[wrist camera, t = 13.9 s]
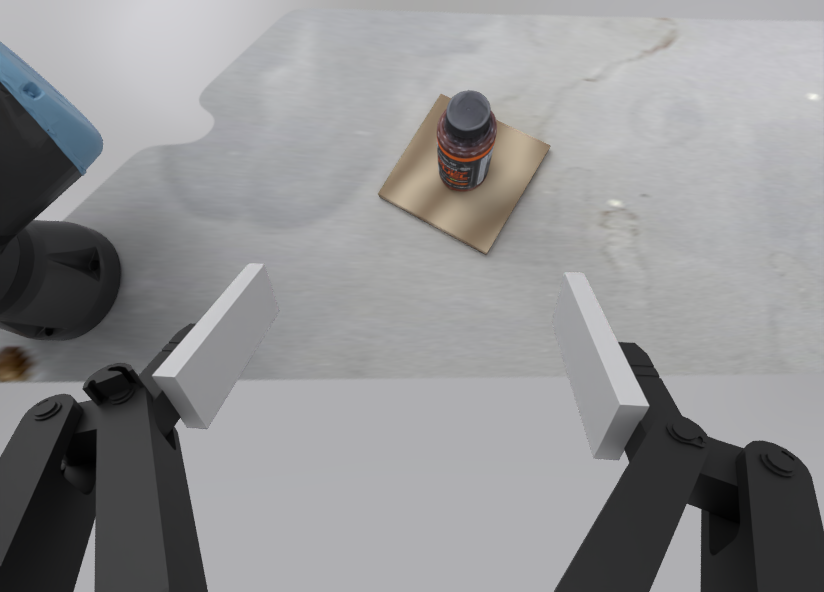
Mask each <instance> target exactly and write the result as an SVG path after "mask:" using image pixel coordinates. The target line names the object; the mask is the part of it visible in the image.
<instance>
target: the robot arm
mask: <svg viewBox="0 0 824 592" xmlns="http://www.w3.org/2000/svg"><path fill="white" fill-rule="evenodd" d="M102 149H103V140H102V137H101V135H100V133H99V132H98V131H97V129H96V128H95V127H94V126H93V125H92V123H91V122H90V121H89V120H88V119H87V118H86V117H85V116H84V115H83V114H82V113H81V112H80V111H79V110H78V109H77V108H76V107H75V106H74V105H72V104H71V103H70V102H69V101H68V100H67V99H66V98H65V97H64V96H63V95H62V94H60V92H59V91H57V90H56V89H55V88H54V87H53V86H52V85H51V84H50V83H49V82H47V81H46V80H45V79H44V78H43V77H42V76H41V75H40V74H38V73H37V72H36V71H35V70H34V69H33V68H32V67H30V66H29V65H28V64H27V63H26V62H25V61H23V60H22V59H21V58H20V57H19V56H17V55H16V54H15V53H14V52H13V51H11V50H10V49H9V48H8V47H6V46H5V45H4V44H3V43H2V42H0V328H1V329H4V330H6V331H9V332H12V333H15V334H18V335H21V336H24V337H27V338H31V339H37V340H67V339H72V338H75V337H78V336H80V335H82V334H84V333H86V332H88V331H89V330H91V329H92V328H93V327H94V326H96V325H97V324H98V323H99V322H100V321H101V320H102V319H103V318H104V316H105V315H106V314H107V312H108V311H109V309H110V308H111V306H112V304H113V302H114V300H115V297H116V295H117V292H118V288H119V283H120V265H119V260H118V256H117V254H116V251H115V249H114V248H113V246H112V244H111V243H110V242H109V241H108V240H107V238H105V237H104V236H103V235H102V234H100V233H99V232H97V231H95V230H92V229H90V228H87V227H84V226H81V225H78V224H74V223H69V222H62V221H38V220H34V219H35V218H36V217H37V216H38V215H39V214H40V213H41V212H43V211H44V210H45V209H46V208H47V207H48V206H49V205H50V204H51V203H52V202H54V201H55V200H56V199H57V198H58V197H59V196H60V195H61V194H62V193H63V192H64V191H66V189H68V188H69V187H70V186H71V185H72V184H73V183H74V182H76V181H77V180H78V179H79V178H80V177H81V176H83V175H84V174H85V173H86V169H87V168H88V167H89V166H90V165H91V164H92V163H93V162H94V161H95V159H96V158H97V157H98V156H99V155H100V154H101V152H102ZM279 311H280V310H279V307H278V304H277V301H276V298H275V295H274V292H273V289H272V285H271V282H270V279H269V276H268V273H267V270H266V267H265V264H252V263H248V265H247V266H246V267H245V268H244V269H243V270H242V272H241V273H240V274H239V275H238V276H237V277H236V279H235V280H234V281H233V282H232V283H231V284H230V286H229V287H228V288H227V289H226V290H225V291H224V293H223V294H222V295H221V296H220V297H219V298H218V299H217V301H216V302H215V303H214V304H213V305H212V306H211V308H210V309H209V310H208V311H207V312H206V313H205V315H204V316H203V317H202V318H201V319H200V320H199V322H198V323H197V324H189V325H188V326H186V327H185V328H183V329H182V330H180V331H179V332H178V333H177V334H176V335H175V336H174V337H173V338H172V339H171V340H170V341H169V344H167V345H166V346H165V347H164V348H163V349H162V352H160V353H159V354H158V355H157V356H156V357H155V358H154V359H153V360H152V362H151V363H150V364H149V365H148V366H147V367H146V368H145V369H144V370H143V372H142V373H141V374H140V375H139V376H138V375H137V374H136V372H135V371H134V370H133V368H132V367H131V365H128V364H126V363H118V364H114V365H110V366H107V367H105V368H103V369H101V370H99V371H97V372H96V373H94V374H93V375H92V376H90V377H89V378H88V380H87V381H86V382H85V383H84V386H83V390H84V391H85V392H86V394H87V395H88V396H89V397H90V398H91V399H92V400H91V401H86V402H80V403H77V402H76V400H75V399H74V398H73V397H72V396H71V395H68V394H59V395H55V396H52V397H49V398H46V399H44V400H42V401H40V402H39V403H37V404H36V405H34V406H33V407H32V408H31V409H29V410H28V411H27V413H26V414H25V415H24V417H23V418H22V419H21V421H20V423H19V425H18V427H17V428H16V430H15V432H14V434H13V435H12V437H11V439H10V441H9V442H8V444H7V446H6V448H5V450H4V452H3V453H2V455H1V457H0V592H73V591H74V588H75V584H76V581H77V577H78V574H79V571H80V567H81V564H82V560H83V557H84V554H85V550H86V547H87V544H88V540H89V537H90V534H91V530H92V527H93V523H94V520H95V517H96V529H95V530H96V531H95V534H96V535H95V537H96V538H95V592H208V590H207V585H206V579H205V575H204V569H203V564H202V558H201V553H200V548H199V542H198V537H197V532H196V526H195V521H194V516H193V510H192V505H191V500H190V495H189V489H188V484H187V479H186V473H185V468H184V463H183V459H182V452H181V447H180V442H179V437H178V432H177V430H176V428H175V427H174V426H175V424H176V423H177V422H178V420H179V419H180V418H181V419H182V421H183V422H184V424H185V425H186V427H187V428H199V429H208V427H209V425H210V424H211V422H212V420H213V419H214V417H215V416H216V414H217V412H218V411H219V409H220V407H221V406H222V404H223V403H224V401H225V399H226V398H227V396H228V394H229V393H230V391H231V390H232V388H233V386H234V385H235V383H236V381H237V380H238V378H239V376H240V375H241V373H242V372H243V370H244V368H245V367H246V365H247V363H248V362H249V360H250V359H251V357H252V355H253V354H254V352H255V350H256V349H257V347H258V346H259V344H260V342H261V341H262V339H263V337H264V336H265V334H266V333H267V331H268V329H269V328H270V326H271V324H272V323H273V321H274V319H275V318H276V316H277V315H278V313H279ZM552 325H553V328H554V332H555V335H556V338H557V341H558V345H559V348H560V351H561V354H562V358H563V361H564V364H565V367H566V371H567V374H568V377H569V380H570V384H571V387H572V390H573V393H574V397H575V400H576V403H577V406H578V410H579V413H580V416H581V419H582V423H583V426H584V429H585V432H586V436H587V439H588V442H589V445H590V449H591V452H592V455H593V458H595V459H609V460H619V459H620V457H621V455H622V453H623V452H624V450H625V452H626V455H627V457H628V460H629V465H628V466H627V468H626V469H625V471H624V473H623V474H622V476H621V478H620V480H619V482H618V483H617V485H616V487H615V488H614V490H613V492H612V493H611V495H610V497H609V498H608V500H607V502H606V504H605V505H604V507H603V509H602V510H601V512H600V514H599V515H598V517H597V519H596V521H595V522H594V524H593V526H592V528H591V529H590V531H589V533H588V534H587V536H586V538H585V539H584V541H583V543H582V544H581V546H580V548H579V550H578V551H577V553H576V555H575V556H574V558H573V560H572V562H571V563H570V565H569V567H568V568H567V570H566V572H565V573H564V575H563V577H562V579H561V580H560V582H559V584H558V585H557V587H556V589H555V590H554V592H649V591H650V589H651V586H652V584H653V582H654V579H655V577H656V575H657V572H658V570H659V568H660V565H661V563H662V560H663V558H664V556H665V553H666V551H667V549H668V546H669V544H670V542H671V539H672V537H673V535H674V532H675V530H676V528H677V525H678V523H679V520H680V518H681V516H682V513H683V511H684V509H685V506H686V504H689V505H692V506H695V507H698V508H700V509H702V511H701V513H702V514H701V592H824V530H823V526H822V521H821V516H820V512H819V507H818V503H817V499H816V494H815V490H814V485H813V481H812V477H811V475H810V473H809V471H808V469H807V467H806V466H805V465H804V464H803V463H802V461H801V460H800V459H799V458H798V457H796V456H795V455H793V454H792V453H791V452H789V451H788V450H787V449H784V448H782V447H780V446H778V445H776V444H774V443H770V442H766V441H752V442H751V443H749V444H748V445H746V447H745V448H741V447H738V446H735V445H731V444H728V443H725V442H722V441H719V440H716V439H713V438H710V437H708V436H707V434H706V433H705V432H704V431H703V429H702V428H701V427H700V426H699V425H697V424H696V423H694V422H693V421H691V420H690V419H688V418H685V417H683V416H682V415H681V413H680V412H679V410H678V408H677V406H676V405H675V403H674V401H673V399H672V397H671V395H670V394H669V392H668V390H667V388H666V387H665V385H664V383H663V381H662V380H661V378H659V374H658V372H657V371H656V369H655V368H654V365H653V364H652V362H651V360H650V358H649V356H648V355H647V353H646V352H644V351H643V350H642V349H641V348H640V347H639V346H638V345H637V344H635V343H624V342H618V341H617V339H616V337H615V335H614V333H613V331H612V329H611V327H610V325H609V323H608V321H607V319H606V317H605V315H604V313H603V311H602V309H601V307H600V305H599V303H598V301H597V299H596V297H595V295H594V293H593V291H592V289H591V287H590V285H589V283H588V281H587V278H586V276H585V274H584V273H579V272H564V276H563V280H562V284H561V288H560V292H559V295H558V299H557V303H556V307H555V311H554V315H553V319H552Z"/></svg>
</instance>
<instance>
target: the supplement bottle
mask: <svg viewBox="0 0 824 592" xmlns="http://www.w3.org/2000/svg"><path fill="white" fill-rule="evenodd" d="M496 134H497V122H496V118H495V116H494V114H493V112H492V111H491V108H490V104H489V101H488V100H487V98H486V97H485V96H484V95H482V94H481V93H479V92H477V91H470V90H468V91H463V92H460V93H458V94H456V95H455V96H454V97H453V98H452V99H451V100H450V101H449V103H448V105H447V109H446V110H445V111H444V112H443V113H442V115H441V116H440V118H439V121H438V124H437V153H438V170H439V175H440V178H441V180H442V181H443V183H444V184H445V185H446V186H447V187H449V188H451V189H452V190H455V191H461V192H465V191H471V190H473V189H475V188H477V187H478V186H480V185H481V184H482V183H483V181H484V180H485V178H486V176H487V173H488V170H489V166H490V161H491V157H492V152H493V148H494V144H495V139H496Z"/></svg>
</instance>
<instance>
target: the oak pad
mask: <svg viewBox="0 0 824 592" xmlns="http://www.w3.org/2000/svg"><path fill="white" fill-rule="evenodd" d="M450 100H451V98H449V97H447V96H445V95H442V94H440V96H439V98H438V99H437V101H436V102H435V104H434V106H433V107H432V109H431V110H430V112H429V113H428V115H427V117H426V118H425V120H424V121H423V123H422V125H421V126H420V128H419V129H418V131H417V132H416V134H415V136H414V137H413V139H412V140H411V142H410V144H409V145H408V147H407V148H406V150H405V152H404V153H403V155H402V156H401V158H400V159H399V161H398V163H397V164H396V166H395V167H394V169H393V171H392V172H391V174H390V175H389V177H388V178H387V180H386V182H385V183H384V185H383V186H382V188H381V190H380V191H379V193H378V195H379V197H381V198H383V199H385V200H387V201H388V202H390V203H392V204H394V205H396V206H398V207H399V208H401V209H403V210H405V211H407V212H409V213H410V214H412V215H414V216H416V217H418V218H420V219H421V220H423V221H425V222H427V223H429V224H431V225H432V226H434V227H436V228H438V229H440V230H442V231H443V232H445V233H447V234H449V235H451V236H453V237H454V238H456V239H458V240H460V241H462V242H464V243H465V244H467V245H469V246H471V247H473V248H475V249H477V250H478V251H480V252H482V253H484V254H487V253H488V251H489V249H490V247H491V246H492V244H493V242H494V241H495V239H496V237H497V236H498V234H499V232H500V231H501V229H502V227H503V226H504V224H505V222H506V221H507V219H508V217H509V216H510V214H511V212H512V210H513V209H514V207H515V205H516V204H517V202H518V200H519V199H520V197H521V195H522V194H523V192H524V190H525V189H526V187H527V185H528V184H529V182H530V180H531V179H532V177H533V175H534V173H535V172H536V170H537V168H538V167H539V165H540V163H541V162H542V160H543V158H544V157H545V155H546V153H547V152H548V150H549V148H550V145H548V144H546V143H544V142H542V141H540V140H537V139H535V138H533V137H531V136H529V135H527V134H525V133H523V132H521V131H518V130H516V129H514V128H512V127H510V126H508V125H506V124H504V123H502V122H499V121H497V120H496V122H497V134H496V139H495V144H494V148H493V152H492V157H491V161H490V166H489V170H488V173H487V176H486V178H485V180H484V181H483V183H482V184H481V185H480V186H478V187H477V188H475V189H473V190H471V191H465V192H461V191H455V190H452V189H451V188H449V187H447V186H446V185H445V184H444V183H443V181H442V180H441V178H440V175H439V170H438V153H437V124H438V121H439V118H440V116H441V115H442V113H443V112H444V111H445V110H446V109H447V105H448V103H449V101H450Z"/></svg>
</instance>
